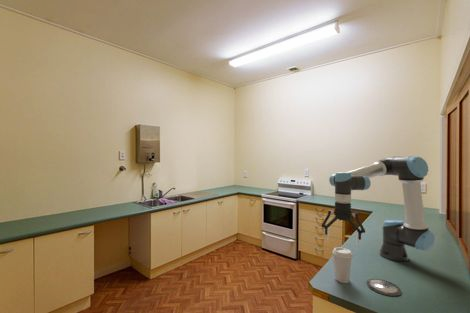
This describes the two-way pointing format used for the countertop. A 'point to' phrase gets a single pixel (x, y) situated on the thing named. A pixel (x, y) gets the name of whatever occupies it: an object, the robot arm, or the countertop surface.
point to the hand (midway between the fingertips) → (342, 243)
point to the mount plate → (383, 287)
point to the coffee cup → (342, 264)
